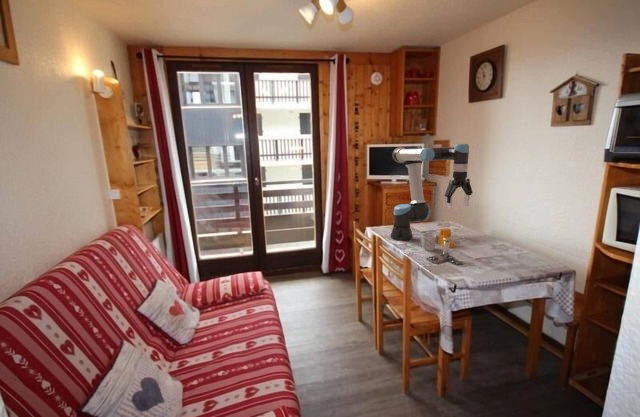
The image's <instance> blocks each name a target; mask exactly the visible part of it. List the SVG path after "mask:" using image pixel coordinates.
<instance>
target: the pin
mask: <svg viewBox="0 0 640 417" xmlns="http://www.w3.org/2000/svg"><path fill="white" fill-rule="evenodd" d="M443 241H444V246H442V247H443V248H442V249H443V251H442V252H443V253H442V254H443V257H444V258H448V257H449V255H450V254H449V253H450V247H449V241H451V237H448V238H443ZM451 242H452V241H451Z"/></svg>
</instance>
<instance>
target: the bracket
mask: <svg viewBox="0 0 640 417" xmlns="http://www.w3.org/2000/svg"><path fill="white" fill-rule="evenodd" d="M439 231H440V232H439V235H438V239H437V243H438V244H439V245H441V246H442V247H444V241H443V238H451V235H452V230H451V228H440V230H439ZM456 246H457V245H456V244H455V243H454V242H453V241H449V248H456Z"/></svg>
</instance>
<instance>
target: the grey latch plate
mask: <svg viewBox="0 0 640 417" xmlns="http://www.w3.org/2000/svg"><path fill="white" fill-rule="evenodd" d="M445 262H446V263H449V264H451V265H454V266H456V267H459V266H461V265H465V264H467V263H465V262H464V261H460V260H459V259H456V258H455V259H453V260H449V261H445Z"/></svg>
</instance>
